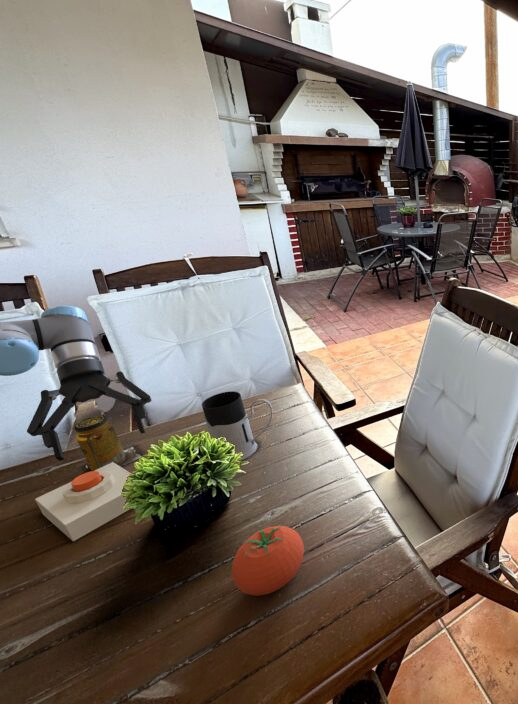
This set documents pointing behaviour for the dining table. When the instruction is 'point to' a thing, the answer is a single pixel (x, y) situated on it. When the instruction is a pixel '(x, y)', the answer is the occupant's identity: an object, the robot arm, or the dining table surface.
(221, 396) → the glass holder
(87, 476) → the button
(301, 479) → the dining table surface
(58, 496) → the white button box
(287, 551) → the tomato
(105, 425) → the condiment
